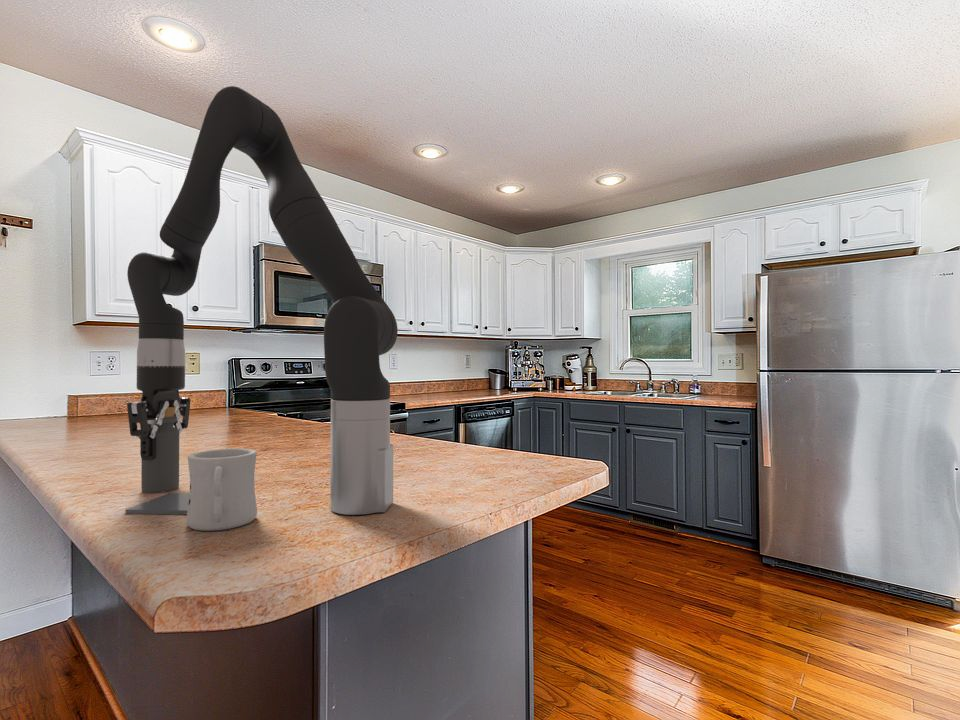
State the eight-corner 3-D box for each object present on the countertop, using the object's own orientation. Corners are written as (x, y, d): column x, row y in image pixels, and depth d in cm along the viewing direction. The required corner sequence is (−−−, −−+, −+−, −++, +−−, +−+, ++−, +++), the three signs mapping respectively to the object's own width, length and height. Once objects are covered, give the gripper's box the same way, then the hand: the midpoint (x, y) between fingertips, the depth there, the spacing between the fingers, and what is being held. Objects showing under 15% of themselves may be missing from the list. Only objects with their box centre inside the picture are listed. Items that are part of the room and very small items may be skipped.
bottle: (161, 494, 89) (161, 408, 90) (133, 492, 91) (133, 408, 91) (186, 486, 95) (187, 406, 95) (160, 484, 96) (160, 405, 97)
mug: (191, 517, 76) (191, 450, 76) (258, 510, 79) (258, 446, 79) (176, 544, 64) (176, 465, 64) (255, 535, 68) (255, 460, 68)
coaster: (225, 497, 87) (225, 493, 87) (188, 514, 77) (188, 510, 77) (168, 496, 88) (168, 493, 88) (125, 513, 78) (125, 509, 78)
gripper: (153, 364, 86) (153, 464, 86) (204, 364, 100) (204, 450, 100) (111, 364, 86) (110, 463, 86) (167, 364, 101) (167, 449, 100)
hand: (160, 455), depth 93 cm, fingers closed on bottle, 5 cm apart
